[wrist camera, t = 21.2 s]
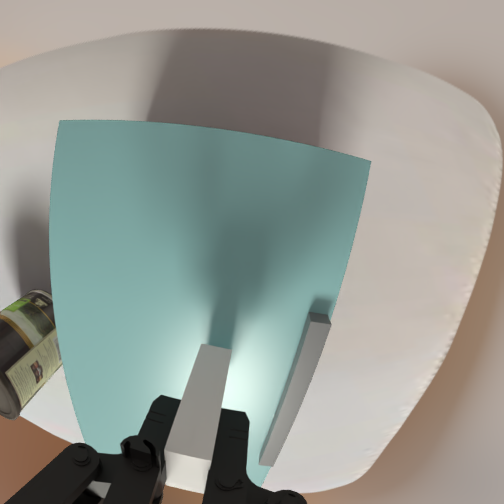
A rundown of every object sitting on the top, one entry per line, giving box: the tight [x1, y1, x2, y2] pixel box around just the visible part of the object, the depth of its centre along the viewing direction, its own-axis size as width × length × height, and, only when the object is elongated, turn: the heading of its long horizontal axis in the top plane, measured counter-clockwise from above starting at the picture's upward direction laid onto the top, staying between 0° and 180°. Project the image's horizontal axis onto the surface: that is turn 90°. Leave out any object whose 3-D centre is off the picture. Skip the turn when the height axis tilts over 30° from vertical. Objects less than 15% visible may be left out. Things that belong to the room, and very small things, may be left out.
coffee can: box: [0, 290, 63, 420], centre depth 24 cm, size 10×10×14 cm
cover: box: [49, 120, 371, 487], centre depth 16 cm, size 16×27×2 cm, turn 169°
